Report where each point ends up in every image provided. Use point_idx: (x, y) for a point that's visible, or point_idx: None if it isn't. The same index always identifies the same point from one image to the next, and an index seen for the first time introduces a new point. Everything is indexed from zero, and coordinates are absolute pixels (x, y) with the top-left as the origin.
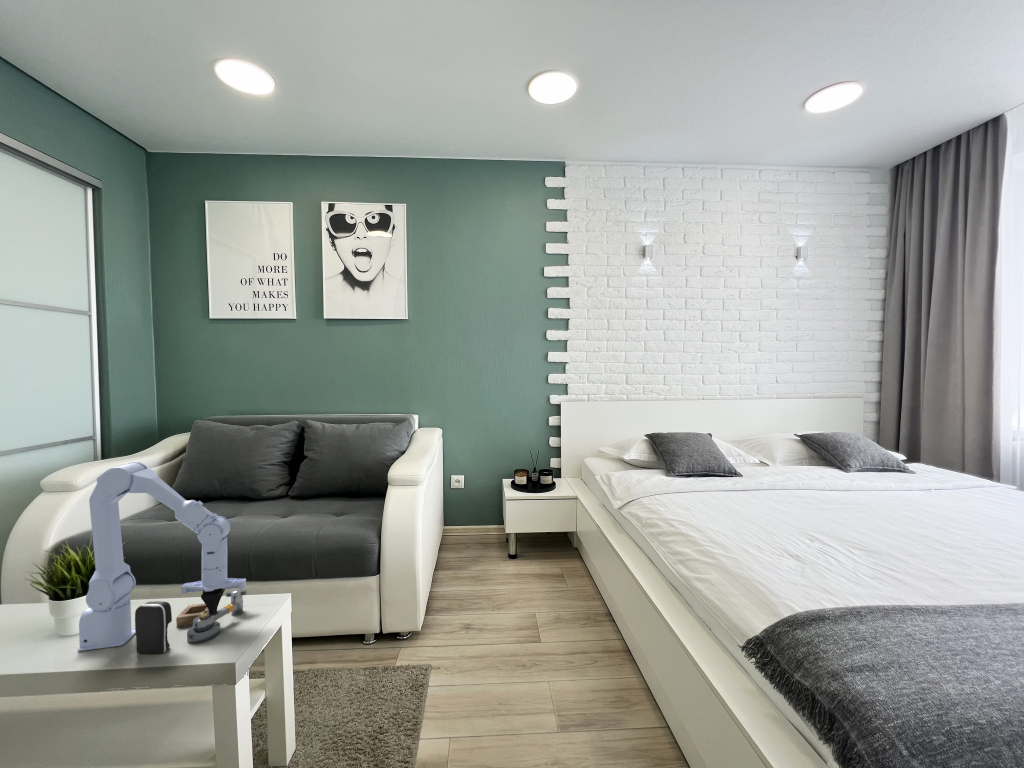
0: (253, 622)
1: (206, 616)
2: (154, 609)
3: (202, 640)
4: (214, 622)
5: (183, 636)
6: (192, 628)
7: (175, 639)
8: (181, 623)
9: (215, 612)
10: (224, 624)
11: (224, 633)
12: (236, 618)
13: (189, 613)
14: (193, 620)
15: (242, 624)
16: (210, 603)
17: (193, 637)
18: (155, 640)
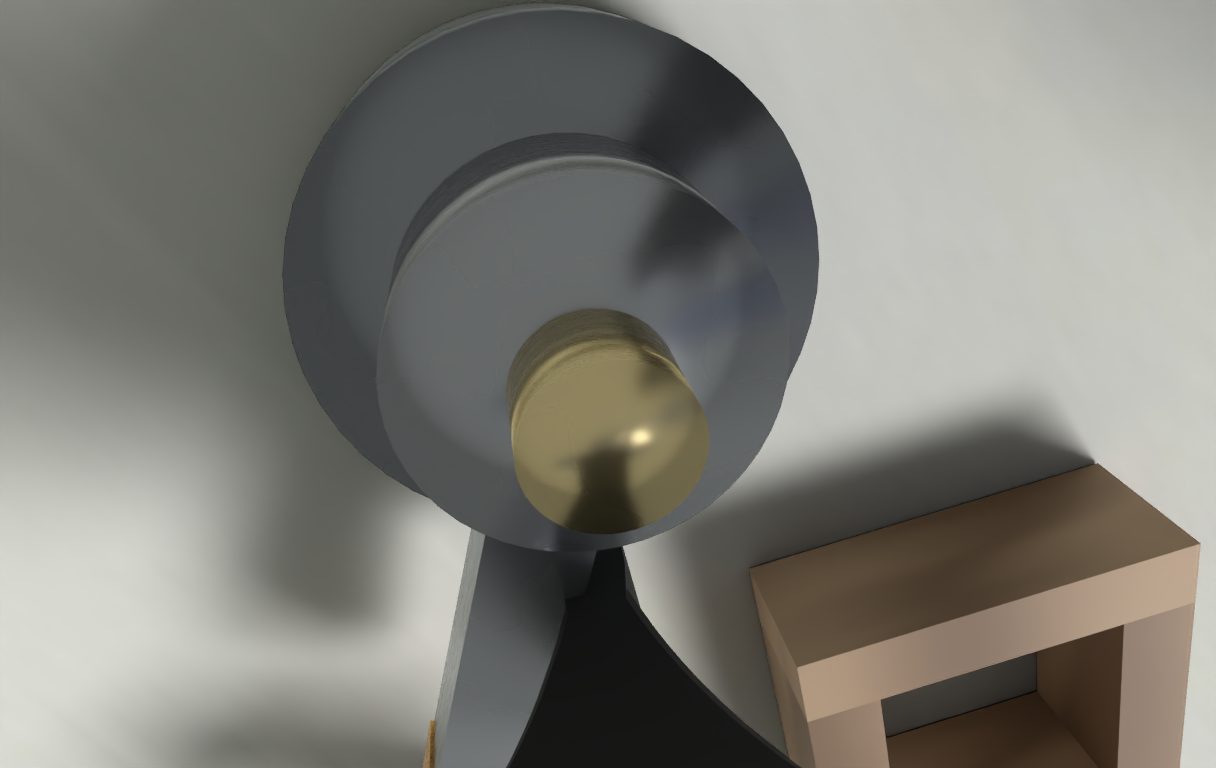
0: (34, 648)
1: (507, 397)
2: None
3: (412, 43)
4: None
5: (879, 249)
6: None
7: (955, 162)
8: (1070, 505)
9: (554, 647)
10: None
11: (254, 344)
12: (409, 709)
13: (1079, 699)
14: (770, 291)
15: (173, 589)
16: (616, 754)
17: (569, 10)
18: None
